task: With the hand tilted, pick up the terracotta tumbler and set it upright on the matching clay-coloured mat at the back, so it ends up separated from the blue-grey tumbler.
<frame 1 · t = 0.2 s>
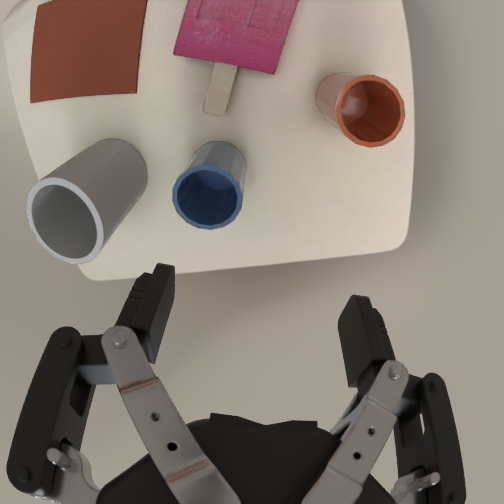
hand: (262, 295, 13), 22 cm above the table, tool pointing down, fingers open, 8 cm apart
terracotta tumbler: (343, 99, 27), on the table
cup: (114, 173, 32), on the table
blue tumbler: (218, 166, 32), on the table
popsicle: (239, 24, 22), on the table
clay mat: (80, 41, 22), on the table
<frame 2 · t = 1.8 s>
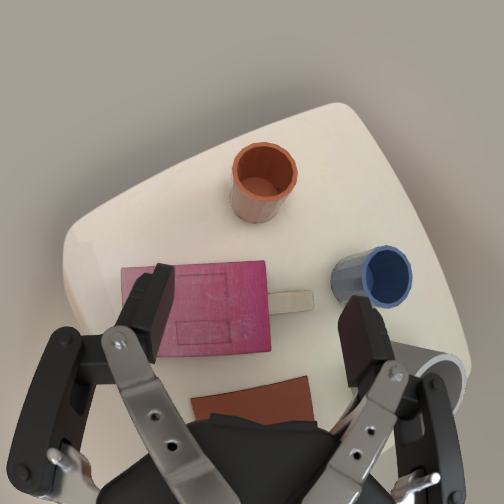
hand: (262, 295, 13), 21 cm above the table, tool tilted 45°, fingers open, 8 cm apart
terracotta tumbler: (255, 198, 35), on the table
cup: (380, 373, 33), on the table
blue tumbler: (353, 281, 35), on the table
popsicle: (220, 307, 33), on the table
clay mat: (261, 443, 31), on the table
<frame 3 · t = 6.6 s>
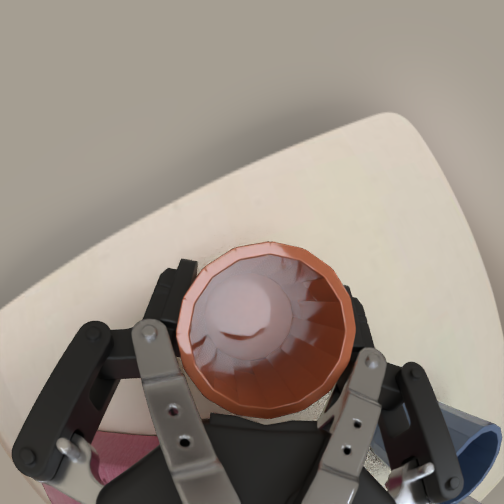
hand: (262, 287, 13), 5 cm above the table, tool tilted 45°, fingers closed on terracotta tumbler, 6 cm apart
terracotta tumbler: (248, 316, 18), on the table, touching gripper
blue tumbler: (402, 428, 17), on the table
popsicle: (194, 482, 16), on the table
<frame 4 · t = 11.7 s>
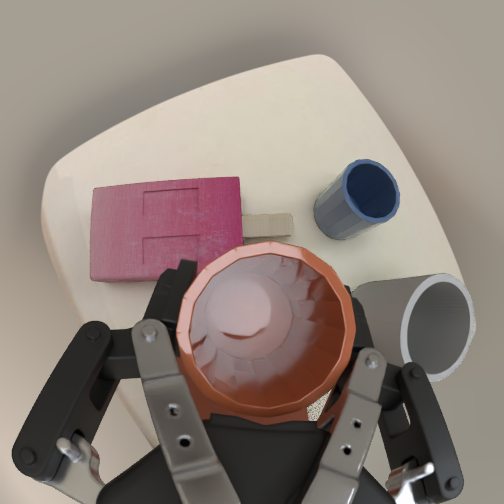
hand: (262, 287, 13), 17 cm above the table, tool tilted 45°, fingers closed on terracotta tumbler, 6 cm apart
terracotta tumbler: (248, 316, 18), point 13 cm above the table, touching gripper
cup: (374, 320, 31), on the table
blue tumbler: (338, 214, 33), on the table
popsicle: (194, 235, 31), on the table
clay mat: (239, 398, 29), on the table
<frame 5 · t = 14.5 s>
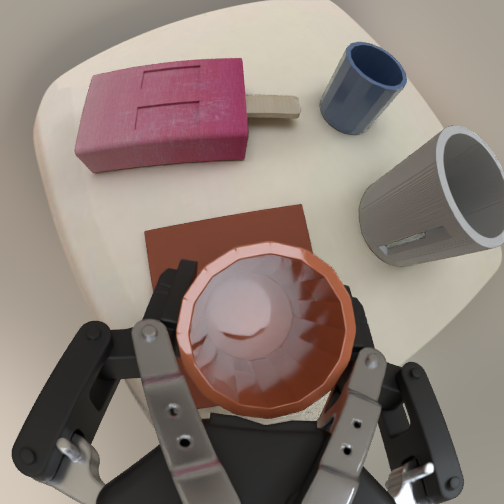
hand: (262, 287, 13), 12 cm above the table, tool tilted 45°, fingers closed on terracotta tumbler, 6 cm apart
terracotta tumbler: (248, 316, 18), point 7 cm above the table, touching gripper
cup: (396, 222, 27), on the table
blue tumbler: (345, 111, 28), on the table
popsicle: (193, 123, 26), on the table
clay mat: (241, 309, 24), on the table
when the fingers open (5 cm above the table, at t = 16.7 s): terracotta tumbler stays where it is, resting on clay mat.
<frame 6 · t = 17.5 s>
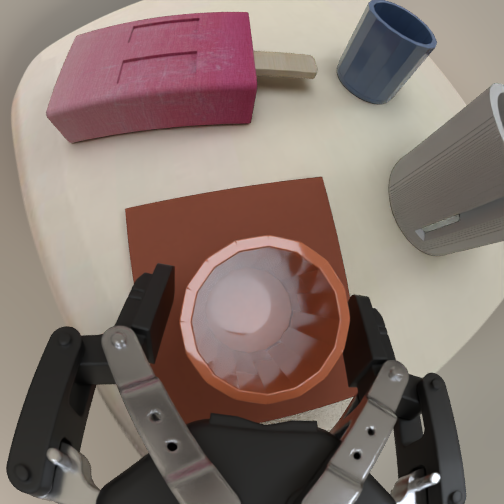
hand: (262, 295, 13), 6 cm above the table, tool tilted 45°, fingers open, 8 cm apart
terracotta tumbler: (248, 310, 18), resting on clay mat
cup: (429, 203, 22), on the table
blue tumbler: (365, 79, 23), on the table
popsicle: (190, 85, 21), on the table
clay mat: (247, 308, 19), on the table
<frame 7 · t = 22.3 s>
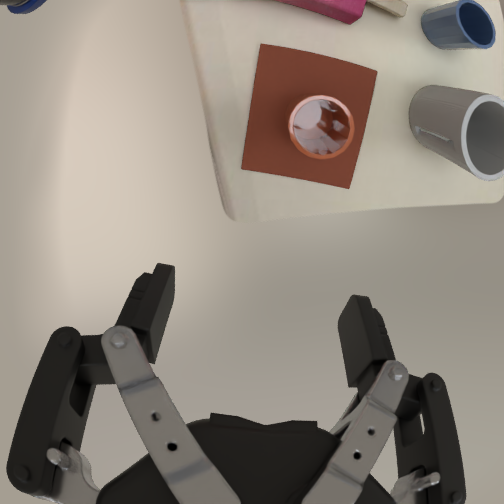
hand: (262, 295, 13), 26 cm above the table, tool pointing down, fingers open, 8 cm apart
terracotta tumbler: (309, 117, 31), resting on clay mat
cup: (436, 117, 29), on the table
blue tumbler: (440, 29, 22), on the table
clay mat: (309, 116, 31), on the table
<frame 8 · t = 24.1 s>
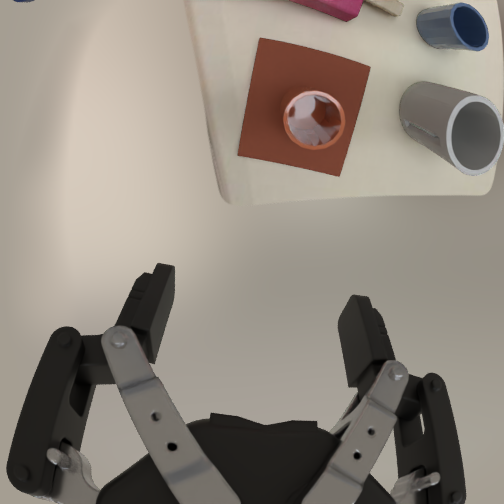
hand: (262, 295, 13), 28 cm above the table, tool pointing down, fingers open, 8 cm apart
terracotta tumbler: (304, 108, 33), resting on clay mat
cup: (426, 112, 31), on the table
blue tumbler: (434, 28, 23), on the table
clay mat: (303, 107, 33), on the table
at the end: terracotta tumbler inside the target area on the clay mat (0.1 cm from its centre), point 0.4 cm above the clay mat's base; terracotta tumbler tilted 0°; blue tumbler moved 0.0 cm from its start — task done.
